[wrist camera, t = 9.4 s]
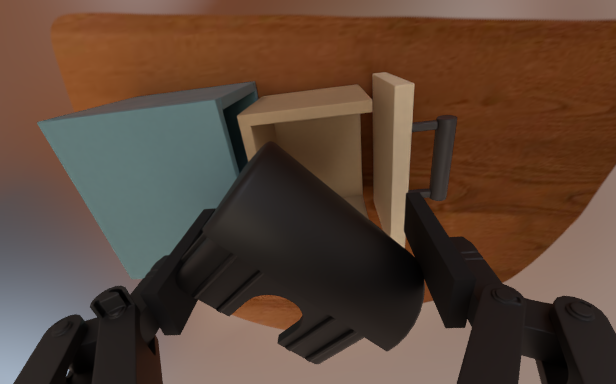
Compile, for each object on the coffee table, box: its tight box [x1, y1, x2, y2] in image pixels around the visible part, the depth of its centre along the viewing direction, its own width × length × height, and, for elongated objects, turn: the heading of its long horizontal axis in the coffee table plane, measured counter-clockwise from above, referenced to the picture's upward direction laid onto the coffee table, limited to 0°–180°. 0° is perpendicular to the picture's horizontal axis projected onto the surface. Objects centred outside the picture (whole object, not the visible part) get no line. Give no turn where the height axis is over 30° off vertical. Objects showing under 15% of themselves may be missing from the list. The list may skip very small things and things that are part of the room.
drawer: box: [237, 72, 457, 248], centre depth 23 cm, size 16×13×9 cm
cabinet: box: [38, 81, 258, 279], centre depth 25 cm, size 13×15×11 cm
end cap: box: [176, 141, 425, 364], centre depth 14 cm, size 10×7×7 cm
